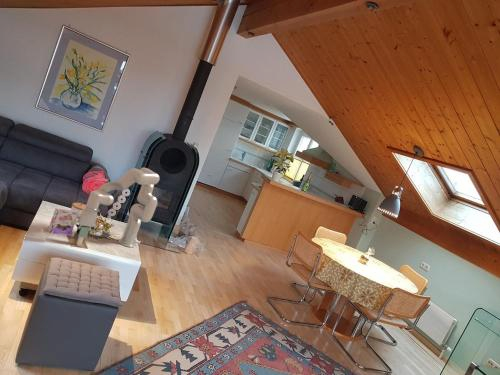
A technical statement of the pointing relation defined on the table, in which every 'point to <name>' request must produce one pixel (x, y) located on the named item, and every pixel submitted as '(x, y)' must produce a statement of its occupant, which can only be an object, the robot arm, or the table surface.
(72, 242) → the walnut board
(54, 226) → the candy box
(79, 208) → the lidded bowl
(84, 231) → the mint green cube
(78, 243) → the cream post
